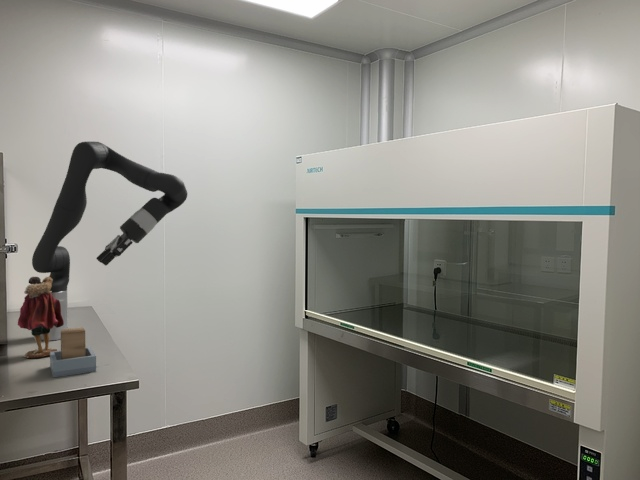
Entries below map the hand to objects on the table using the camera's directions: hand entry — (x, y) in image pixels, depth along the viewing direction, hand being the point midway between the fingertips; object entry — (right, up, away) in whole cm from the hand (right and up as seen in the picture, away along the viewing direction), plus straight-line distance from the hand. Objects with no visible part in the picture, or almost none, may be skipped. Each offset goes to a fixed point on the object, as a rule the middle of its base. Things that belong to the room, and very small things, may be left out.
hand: (100, 262), depth 152 cm
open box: (-5, -31, -8) cm, 32 cm away
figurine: (-22, -30, +6) cm, 38 cm away
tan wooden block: (-5, -30, -8) cm, 31 cm away
